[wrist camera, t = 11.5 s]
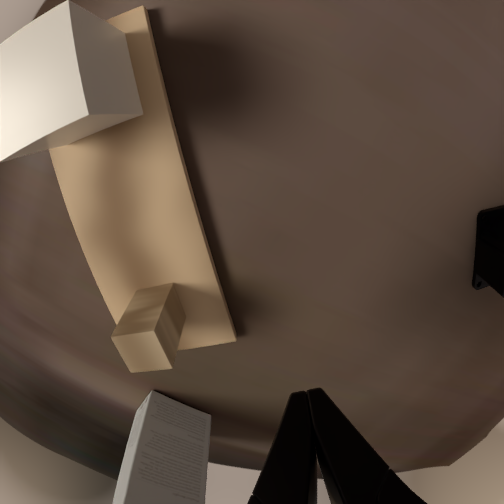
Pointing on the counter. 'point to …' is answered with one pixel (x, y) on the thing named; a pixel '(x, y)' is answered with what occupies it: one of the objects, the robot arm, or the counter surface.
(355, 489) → the robot arm
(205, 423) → the skincare box
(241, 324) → the counter surface
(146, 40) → the stand
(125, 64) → the white rectangular block
